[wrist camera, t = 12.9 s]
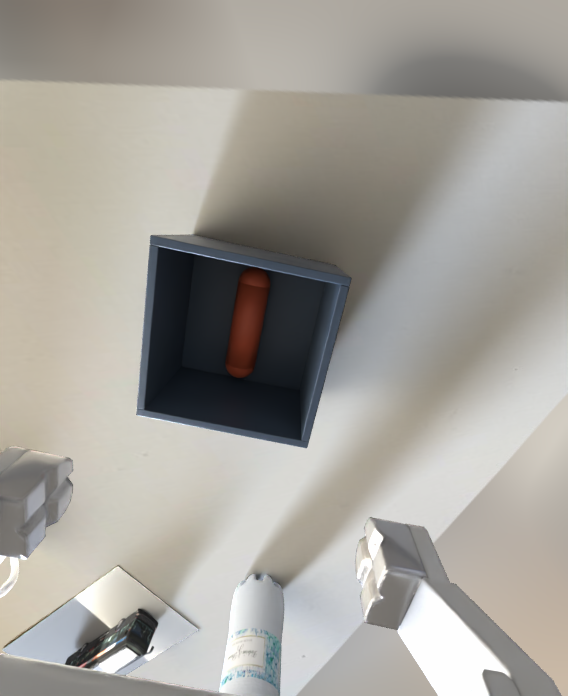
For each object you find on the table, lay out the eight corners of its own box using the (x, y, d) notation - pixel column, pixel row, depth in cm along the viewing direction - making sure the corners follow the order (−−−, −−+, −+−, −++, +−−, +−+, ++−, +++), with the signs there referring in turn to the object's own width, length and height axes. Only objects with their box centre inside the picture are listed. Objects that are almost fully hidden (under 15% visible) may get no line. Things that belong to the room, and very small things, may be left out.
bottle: (275, 561, 43) (260, 822, 24) (293, 599, 45) (293, 868, 26) (225, 574, 44) (172, 835, 25) (245, 611, 46) (210, 879, 27)
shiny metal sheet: (199, 629, 47) (190, 666, 43) (81, 701, 53) (64, 740, 49) (117, 566, 44) (100, 599, 40) (2, 649, 50) (-24, 686, 46)
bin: (191, 234, 31) (150, 234, 22) (335, 265, 32) (351, 277, 23) (176, 369, 35) (135, 415, 26) (304, 394, 36) (307, 448, 27)
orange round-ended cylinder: (246, 262, 32) (236, 264, 29) (276, 269, 31) (269, 271, 29) (229, 367, 35) (218, 378, 32) (255, 375, 35) (247, 385, 32)
